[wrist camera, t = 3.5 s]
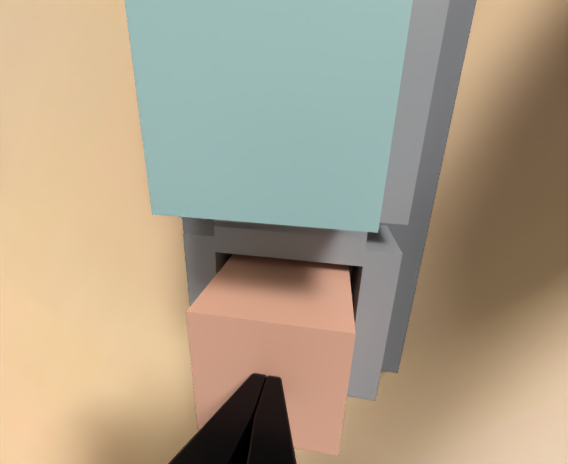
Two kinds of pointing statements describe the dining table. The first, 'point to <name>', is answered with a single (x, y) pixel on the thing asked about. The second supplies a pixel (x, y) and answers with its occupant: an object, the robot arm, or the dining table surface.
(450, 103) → the keypad base
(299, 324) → the salmon pink block
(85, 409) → the dining table surface
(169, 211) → the key teal
